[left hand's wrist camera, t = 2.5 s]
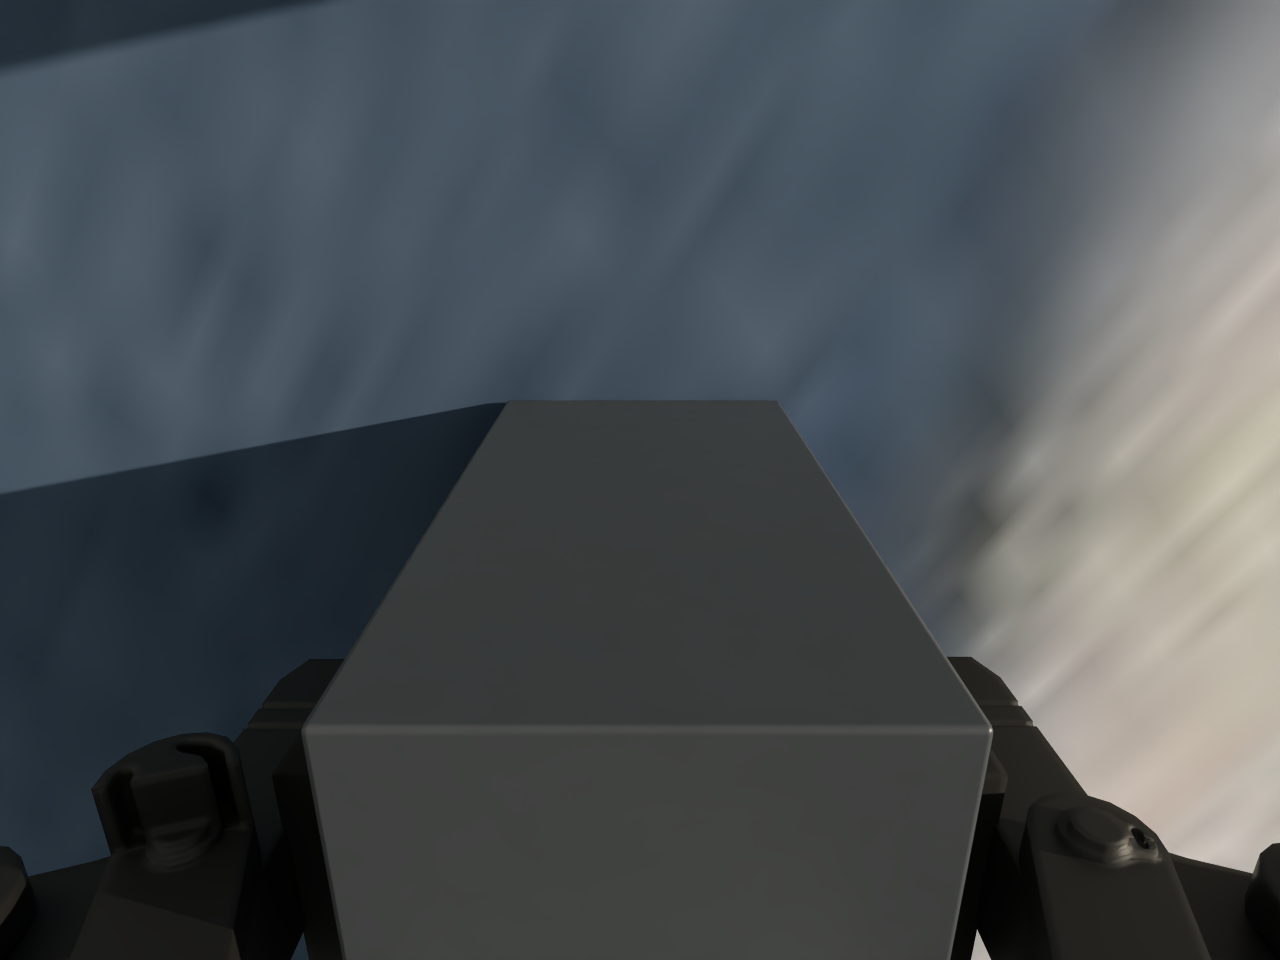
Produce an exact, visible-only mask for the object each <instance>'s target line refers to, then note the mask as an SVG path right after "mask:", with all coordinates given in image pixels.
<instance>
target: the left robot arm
mask: <svg viewBox="0 0 1280 960" xmlns="http://www.w3.org/2000/svg"><path fill="white" fill-rule="evenodd" d="M947 658H948V660H949V662H950V663H951V665H952V666H953V668H954V669H955V671H956V672H957V674H958V675H959V677H960V678H961V680H962V681H963V683H964V684H965V686H966V687H967V689H968V690H969V692H970V693H971V695H972V696H973V698H974V699H975V701H976V703H977V704H978V706H979V707H980V709H981V710H982V712H983V713H984V715H985V716H986V718H987V719H988V721H989V722H990V724H991V726H992V729H993V738H992V743H991V748H990V753H989V758H988V764H987V769H986V774H985V779H984V785H983V790H982V795H981V800H980V806H979V811H978V816H977V821H976V826H975V832H974V837H973V842H972V847H971V853H970V858H969V863H968V868H967V873H966V879H965V884H964V889H963V894H962V900H961V905H960V910H959V915H958V921H957V926H956V931H955V936H954V941H953V947H952V952H951V957H950V960H971V956H972V951H973V946H974V942H975V937H976V932H977V930H978V932H979V934H980V936H981V938H982V941H983V943H984V945H985V947H986V949H987V951H988V954H989V956H990V958H991V960H1280V843H1275V844H1272V845H1270V846H1269V847H1268V848H1267V849H1265V850H1264V851H1263V852H1262V853H1260V856H1259V858H1258V861H1257V864H1256V867H1255V869H1254V872H1253V874H1252V873H1248V872H1244V871H1239V870H1235V869H1231V868H1227V867H1222V866H1218V865H1214V864H1210V863H1205V862H1201V861H1197V860H1193V859H1188V858H1185V857H1182V856H1178V855H1175V854H1172V853H1168V851H1167V850H1166V848H1165V847H1164V845H1163V844H1162V842H1161V840H1160V839H1159V837H1158V836H1157V834H1156V833H1154V832H1153V831H1152V830H1151V829H1150V828H1149V827H1147V826H1146V825H1145V824H1144V823H1143V822H1142V821H1140V820H1139V819H1138V818H1137V817H1136V816H1134V815H1132V814H1130V813H1128V812H1127V811H1125V810H1123V809H1121V808H1119V807H1117V806H1115V805H1114V804H1112V803H1110V802H1107V801H1103V800H1100V799H1097V798H1094V797H1091V796H1088V795H1087V794H1086V793H1085V791H1084V790H1083V789H1082V787H1081V786H1080V784H1079V783H1078V782H1077V780H1076V779H1075V778H1074V776H1073V775H1072V774H1071V772H1070V771H1069V770H1068V768H1067V767H1066V766H1065V764H1064V763H1063V762H1062V760H1061V759H1060V757H1059V756H1058V755H1057V753H1056V752H1055V751H1054V749H1053V748H1052V747H1051V745H1050V744H1049V743H1048V741H1047V740H1046V739H1045V737H1044V736H1043V735H1042V733H1041V732H1040V730H1039V729H1038V728H1037V726H1033V721H1032V720H1031V718H1030V717H1029V716H1028V714H1027V713H1026V712H1025V710H1024V709H1023V708H1022V706H1018V701H1017V699H1016V698H1015V697H1014V695H1013V694H1012V693H1011V691H1010V690H1009V689H1008V687H1007V686H1006V685H1005V683H1004V682H1003V681H1002V679H1001V678H1000V677H999V676H997V675H996V674H995V673H993V672H992V671H990V670H989V669H987V668H986V667H985V666H983V665H982V664H980V663H979V662H977V661H976V660H975V659H973V658H972V657H947ZM344 660H345V659H309V660H308V661H306V662H305V663H304V664H302V665H301V666H299V667H298V668H296V669H295V670H294V671H292V672H291V673H289V674H288V675H287V676H285V677H284V678H282V679H281V680H280V681H279V682H278V684H277V685H276V686H275V688H274V689H273V691H272V692H271V693H270V695H269V696H268V697H267V699H266V700H265V701H264V703H263V707H262V709H259V710H258V711H257V712H256V714H255V715H254V716H253V718H252V719H251V720H250V722H249V723H248V728H247V729H244V730H243V731H242V733H241V734H240V735H239V737H238V738H237V739H236V741H235V742H234V743H233V742H232V741H231V740H230V739H228V738H227V737H225V736H221V735H216V734H212V733H207V732H205V733H191V734H180V735H177V736H173V737H170V738H166V739H162V740H159V741H155V742H153V743H151V744H148V745H146V746H144V747H142V748H140V749H138V750H136V751H134V752H132V753H130V754H128V755H126V756H125V757H123V758H122V759H121V760H119V761H118V762H117V763H115V764H114V765H113V766H111V767H110V768H109V769H107V770H106V771H105V772H104V773H103V775H102V776H101V777H100V779H99V780H98V781H97V783H96V784H95V785H94V787H93V788H92V789H91V790H92V794H93V797H94V800H95V803H96V807H97V810H98V813H99V816H100V820H101V823H102V826H103V829H104V833H105V836H106V839H107V842H108V846H109V849H110V852H111V856H109V857H106V858H103V859H100V860H96V861H93V862H89V863H85V864H80V865H76V866H72V867H68V868H63V869H59V870H55V871H51V872H47V873H42V874H38V875H34V876H30V877H28V875H27V872H26V869H25V867H24V864H23V861H22V858H21V857H20V856H19V855H18V854H17V853H15V852H14V851H13V850H12V849H10V848H9V847H3V846H0V960H291V958H292V955H293V953H294V951H295V949H296V947H297V944H298V942H299V940H300V938H301V936H302V933H303V932H304V937H305V941H306V946H307V951H308V956H309V960H343V958H342V953H341V947H340V942H339V936H338V931H337V926H336V920H335V915H334V909H333V904H332V898H331V893H330V887H329V882H328V876H327V871H326V866H325V860H324V855H323V849H322V844H321V838H320V833H319V827H318V822H317V816H316V811H315V806H314V800H313V795H312V789H311V784H310V778H309V773H308V767H307V762H306V757H305V751H304V746H303V740H302V735H301V730H302V727H303V724H304V723H305V721H306V720H307V718H308V717H309V715H310V713H311V712H312V710H313V709H314V707H315V705H316V704H317V702H318V701H319V699H320V698H321V696H322V694H323V693H324V691H325V690H326V688H327V686H328V685H329V683H330V682H331V680H332V679H333V677H334V675H335V674H336V672H337V671H338V669H339V667H340V666H341V664H342V663H343V661H344Z"/></svg>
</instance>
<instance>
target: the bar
mask: <svg viewBox="0 0 1280 960" xmlns="http://www.w3.org/2000/svg"><path fill="white" fill-rule="evenodd" d="M301 735H302V740H303V746H304V751H305V757H306V762H307V767H308V773H309V778H310V784H311V789H312V795H313V800H314V806H315V811H316V816H317V822H318V827H319V833H320V838H321V844H322V849H323V855H324V860H325V866H326V871H327V876H328V882H329V887H330V893H331V898H332V904H333V909H334V915H335V920H336V926H337V931H338V936H339V942H340V947H341V953H342V958H343V960H950V957H951V952H952V947H953V941H954V936H955V931H956V926H957V921H958V915H959V910H960V905H961V900H962V894H963V889H964V884H965V879H966V873H967V868H968V863H969V858H970V853H971V847H972V842H973V837H974V832H975V826H976V821H977V816H978V811H979V806H980V800H981V795H982V790H983V785H984V779H985V774H986V769H987V764H988V758H989V753H990V748H991V743H992V738H993V729H992V726H991V724H990V722H989V721H988V719H987V718H986V716H985V715H984V713H983V712H982V710H981V709H980V707H979V706H978V704H977V703H976V701H975V699H974V698H973V696H972V695H971V693H970V692H969V690H968V689H967V687H966V686H965V684H964V683H963V681H962V680H961V678H960V677H959V675H958V674H957V672H956V671H955V669H954V668H953V666H952V665H951V663H950V662H949V660H948V658H947V657H946V655H945V654H944V652H943V651H942V649H941V648H940V646H939V645H938V643H937V642H936V640H935V639H934V637H933V636H932V634H931V633H930V631H929V630H928V628H927V627H926V625H925V624H924V622H923V620H922V619H921V617H920V616H919V614H918V613H917V611H916V610H915V608H914V607H913V605H912V604H911V602H910V601H909V599H908V598H907V596H906V595H905V593H904V592H903V590H902V589H901V587H900V586H899V584H898V582H897V581H896V579H895V578H894V576H893V575H892V573H891V572H890V570H889V569H888V567H887V566H886V564H885V563H884V561H883V560H882V558H881V557H880V555H879V554H878V552H877V551H876V549H875V548H874V546H873V545H872V543H871V541H870V540H869V538H868V537H867V535H866V534H865V532H864V531H863V529H862V528H861V526H860V525H859V523H858V522H857V520H856V519H855V517H854V516H853V514H852V513H851V511H850V510H849V508H848V507H847V505H846V503H845V502H844V500H843V499H842V497H841V496H840V494H839V493H838V491H837V490H836V488H835V487H834V485H833V484H832V482H831V481H830V479H829V478H828V476H827V475H826V473H825V472H824V470H823V469H822V467H821V466H820V464H819V462H818V461H817V459H816V458H815V456H814V455H813V453H812V452H811V450H810V449H809V447H808V446H807V444H806V443H805V441H804V440H803V438H802V437H801V435H800V434H799V432H798V431H797V429H796V428H795V426H794V424H793V423H792V421H791V420H790V418H789V417H788V415H787V414H786V412H785V411H784V409H783V408H782V406H781V405H780V403H779V402H778V401H508V402H507V403H506V404H505V406H504V408H503V409H502V411H501V412H500V414H499V416H498V417H497V419H496V420H495V422H494V423H493V425H492V427H491V428H490V430H489V431H488V433H487V435H486V436H485V438H484V439H483V441H482V442H481V444H480V446H479V447H478V449H477V450H476V452H475V454H474V455H473V457H472V458H471V460H470V461H469V463H468V465H467V466H466V468H465V469H464V471H463V473H462V474H461V476H460V477H459V479H458V480H457V482H456V484H455V485H454V487H453V488H452V490H451V492H450V493H449V495H448V496H447V498H446V499H445V501H444V503H443V504H442V506H441V507H440V509H439V511H438V512H437V514H436V515H435V517H434V519H433V520H432V522H431V523H430V525H429V526H428V528H427V530H426V531H425V533H424V534H423V536H422V538H421V539H420V541H419V542H418V544H417V545H416V547H415V549H414V550H413V552H412V553H411V555H410V557H409V558H408V560H407V561H406V563H405V564H404V566H403V568H402V569H401V571H400V572H399V574H398V576H397V577H396V579H395V580H394V582H393V583H392V585H391V587H390V588H389V590H388V591H387V593H386V595H385V596H384V598H383V599H382V601H381V602H380V604H379V606H378V607H377V609H376V610H375V612H374V614H373V615H372V617H371V618H370V620H369V622H368V623H367V625H366V626H365V628H364V629H363V631H362V633H361V634H360V636H359V637H358V639H357V641H356V642H355V644H354V645H353V647H352V648H351V650H350V652H349V653H348V655H347V656H346V658H345V660H344V661H343V663H342V664H341V666H340V667H339V669H338V671H337V672H336V674H335V675H334V677H333V679H332V680H331V682H330V683H329V685H328V686H327V688H326V690H325V691H324V693H323V694H322V696H321V698H320V699H319V701H318V702H317V704H316V705H315V707H314V709H313V710H312V712H311V713H310V715H309V717H308V718H307V720H306V721H305V723H304V724H303V727H302V730H301Z"/></svg>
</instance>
